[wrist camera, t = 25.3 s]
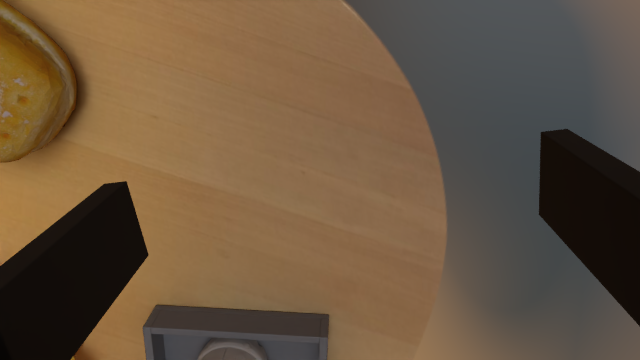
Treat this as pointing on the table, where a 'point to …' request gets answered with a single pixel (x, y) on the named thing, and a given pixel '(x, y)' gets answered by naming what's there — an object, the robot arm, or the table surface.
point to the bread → (31, 86)
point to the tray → (234, 332)
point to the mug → (232, 350)
